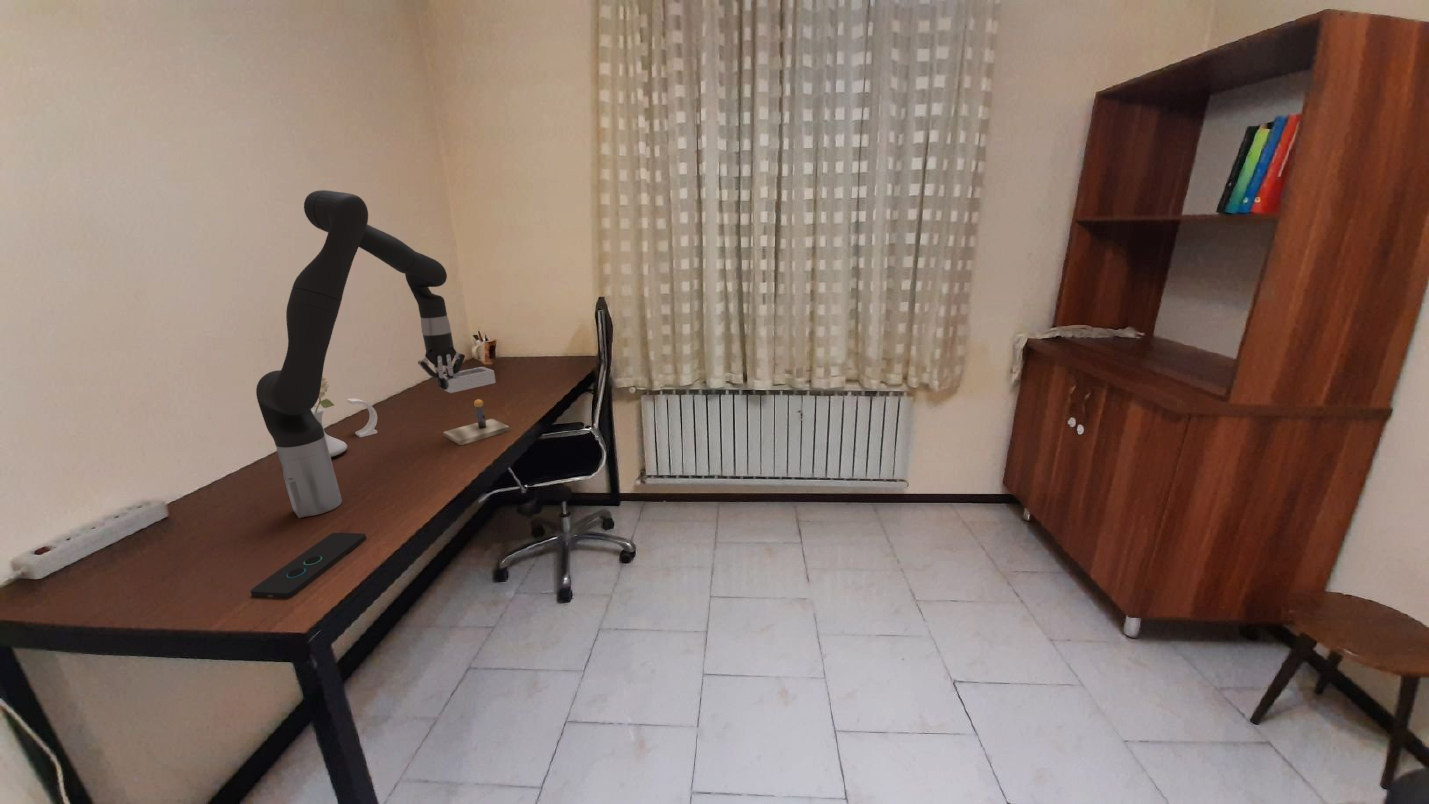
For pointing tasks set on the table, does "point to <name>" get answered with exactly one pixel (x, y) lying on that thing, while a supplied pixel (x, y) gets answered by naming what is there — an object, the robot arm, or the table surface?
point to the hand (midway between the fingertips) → (447, 388)
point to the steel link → (469, 379)
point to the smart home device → (308, 566)
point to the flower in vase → (332, 443)
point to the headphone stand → (372, 419)
